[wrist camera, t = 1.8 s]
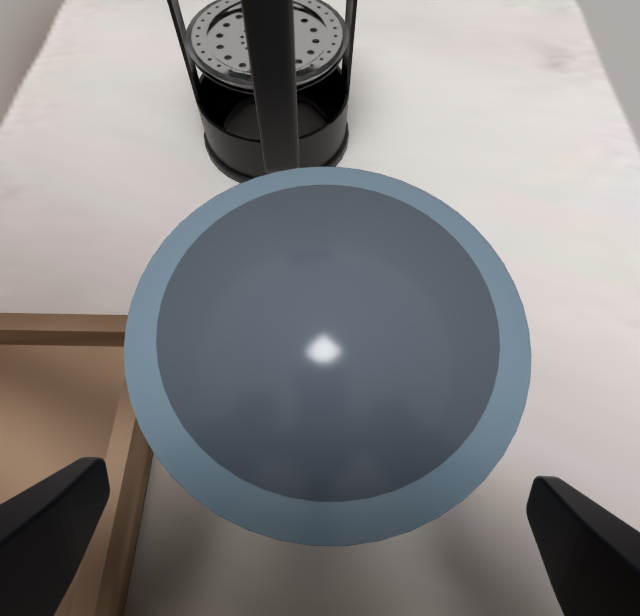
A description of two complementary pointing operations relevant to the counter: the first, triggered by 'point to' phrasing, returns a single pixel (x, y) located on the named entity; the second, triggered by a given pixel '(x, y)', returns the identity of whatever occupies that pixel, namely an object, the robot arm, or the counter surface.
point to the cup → (327, 356)
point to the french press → (270, 79)
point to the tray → (75, 435)
